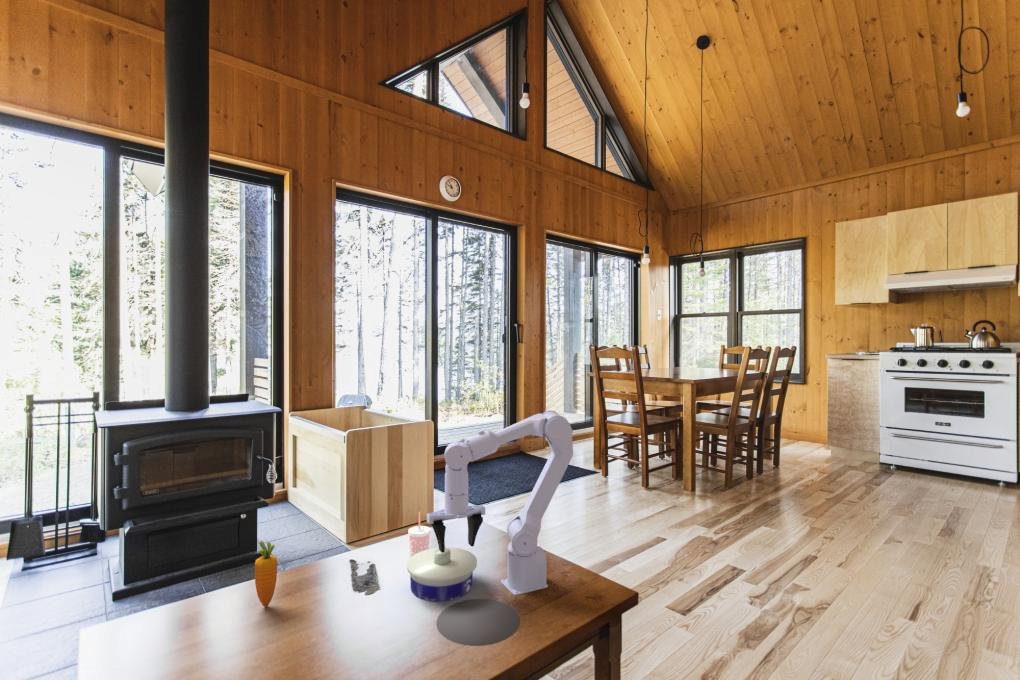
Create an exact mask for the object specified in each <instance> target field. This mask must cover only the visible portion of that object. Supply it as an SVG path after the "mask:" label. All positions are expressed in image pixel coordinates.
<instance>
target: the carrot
mask: <svg viewBox="0 0 1020 680" xmlns="http://www.w3.org/2000/svg"><path fill="white" fill-rule="evenodd" d="M258 544H259V545H260V547H261V549H258V550H257V553H259V554H260V555H261V556H259V558H256V559H255V563H254V580H255V581H254V583H255V590H256V593H257V598H258V599H259V602H260V604H262V606H263V607H264V608H267V607H268V606H269V605H270V604H271V601H272V599H273V596H274V594H275V589H276V586H277V579H278V578H277V577H278V558H277V556H276V555H272V552H273V550H274V549H275V547H276V546H275V544H272V543H271V542H270V541H268V542H266V544H265V542H264V540H260V541H259V542H258ZM266 545H267V546H266Z"/></svg>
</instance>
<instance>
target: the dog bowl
mask: <svg viewBox="0 0 1020 680" xmlns="http://www.w3.org/2000/svg"><path fill="white" fill-rule="evenodd" d="M473 574H474V571H473V572H471V573H470V574H468V575H467V576H464V577H462V578H459V579H455V580H450V581H426V580H422V579H418V578H416V577H414V576H412V575H411V574H410V573H409V575H410V581H409V582H410V591H411V594H412V595H414V596H415V597H416V598H417V599H420V600H423V601H426V602H437V603H439V602H440V603H441V602H443V603H444V602H450V601H455V600H458V599H460V598H461V597H464V596H466V595H467V594H468V593H469V592H470V591H471V589H472V588H473Z"/></svg>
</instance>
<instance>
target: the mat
mask: <svg viewBox="0 0 1020 680" xmlns="http://www.w3.org/2000/svg"><path fill="white" fill-rule="evenodd" d="M520 620H521V619H520V616H519V614H518V612H517V611H516V609H514V608H513V607H512V606H510V604H509V605H508V604H507V603H505V602H502V601H498V600H496V599H495V600H494V599H486V598H475V599H471V598H470V599H466V600H461V601H459V602H455V603H453V604H451V605H449V606H447V607H446V608H444V609H443V610H442V611H441V612H440V614H439V615H438V616H437V619H436V628H437V629H436V630H438V632H439V634H441V636H443V638H446V639H447V640H448V641H450V642H452V643H455V644H459V645H463V646H471V647H472V646H473V647H480V646H488V645H489V646H490V645H494V644H498V643H500V642H503V641H505V640H507V639H509V638H511V637H512V636H513V635H514V634H515V633H516V632H517V631H518V629H519V627H520V623H521V621H520Z"/></svg>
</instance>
